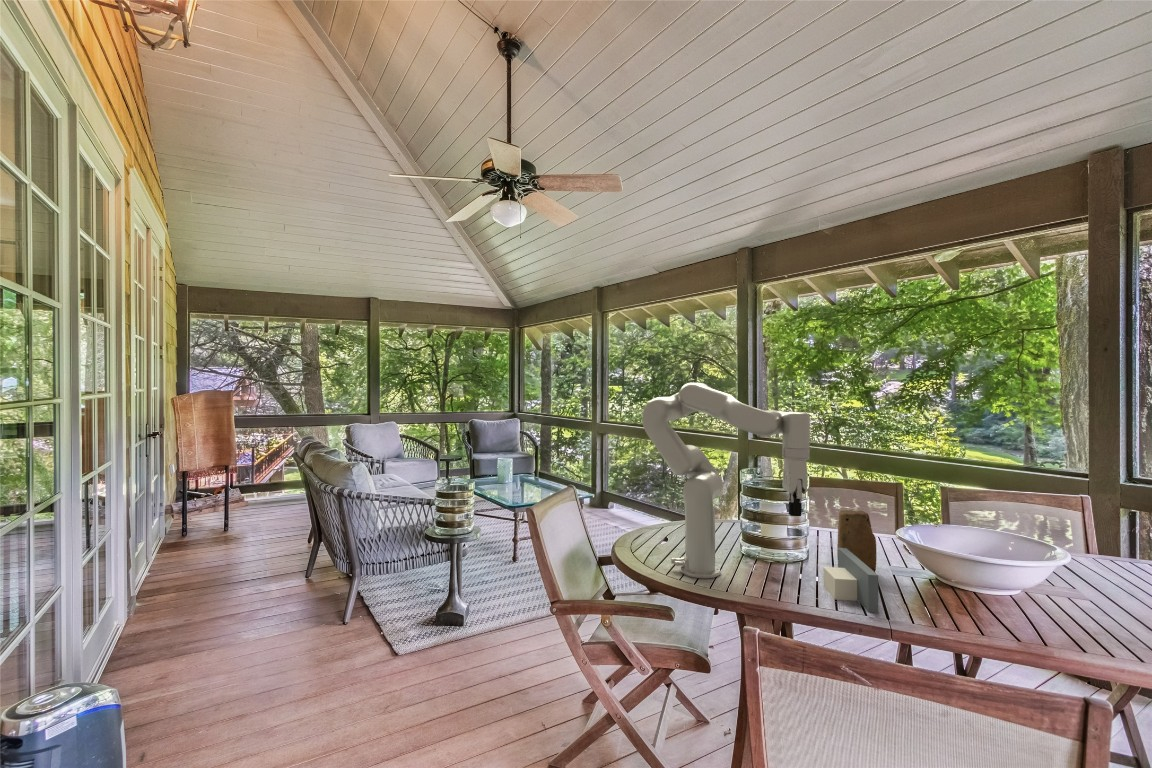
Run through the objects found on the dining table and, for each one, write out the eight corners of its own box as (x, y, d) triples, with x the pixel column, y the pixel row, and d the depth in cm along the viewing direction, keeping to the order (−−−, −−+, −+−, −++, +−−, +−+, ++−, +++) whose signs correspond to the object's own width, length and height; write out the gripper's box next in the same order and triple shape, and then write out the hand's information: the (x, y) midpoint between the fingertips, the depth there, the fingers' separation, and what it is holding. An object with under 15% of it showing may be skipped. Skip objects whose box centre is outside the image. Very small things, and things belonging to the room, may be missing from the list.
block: (839, 575, 171) (839, 512, 171) (836, 567, 178) (836, 507, 178) (878, 579, 168) (877, 515, 168) (873, 571, 175) (873, 510, 175)
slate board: (868, 612, 144) (868, 574, 144) (837, 579, 167) (837, 547, 167) (878, 612, 143) (878, 575, 143) (846, 580, 167) (846, 548, 167)
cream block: (834, 600, 152) (834, 578, 152) (823, 586, 162) (823, 567, 162) (857, 601, 151) (857, 579, 151) (844, 587, 161) (844, 567, 161)
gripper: (777, 450, 167) (776, 509, 167) (788, 456, 152) (787, 521, 152) (802, 450, 165) (801, 510, 165) (816, 457, 151) (815, 522, 151)
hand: (794, 515), depth 159 cm, fingers closed
